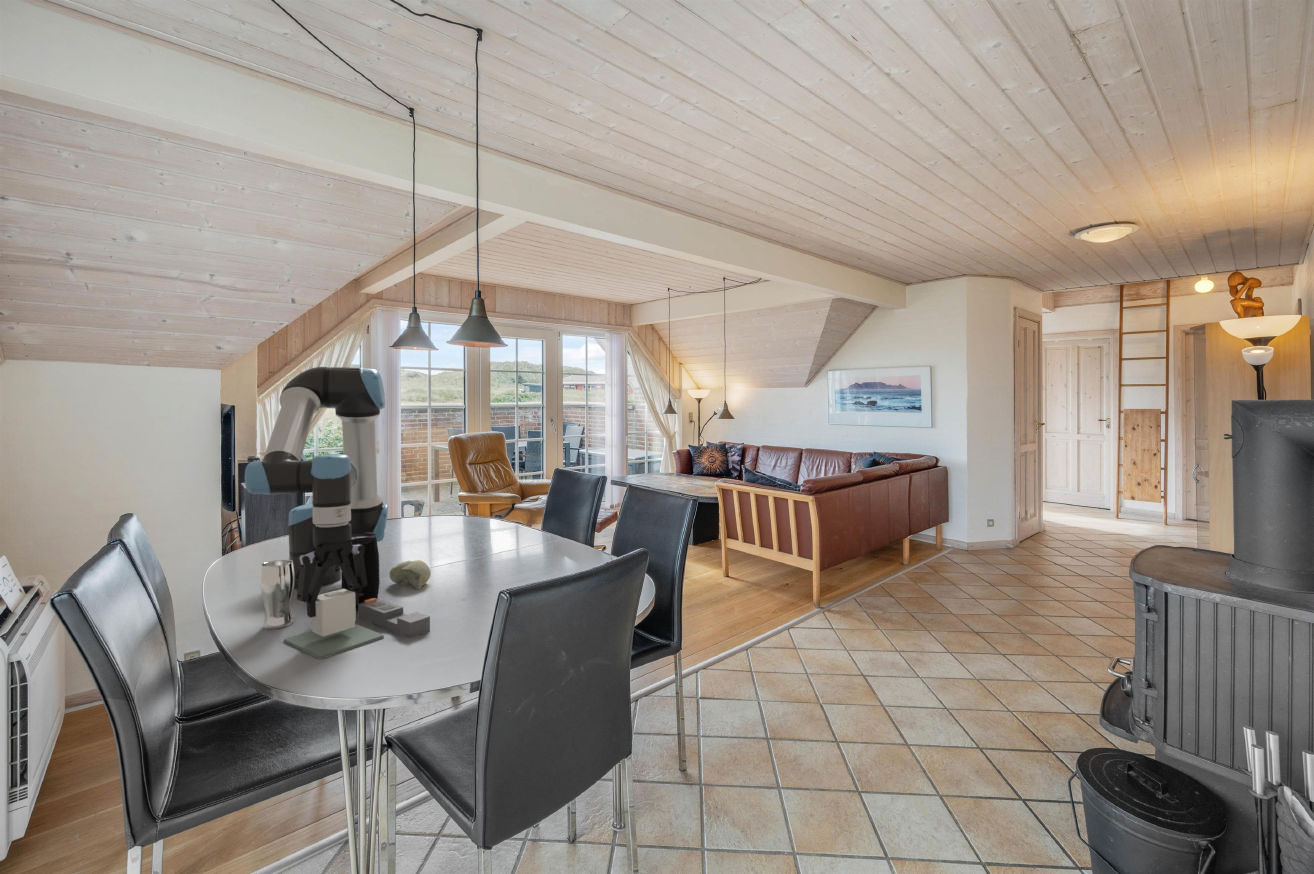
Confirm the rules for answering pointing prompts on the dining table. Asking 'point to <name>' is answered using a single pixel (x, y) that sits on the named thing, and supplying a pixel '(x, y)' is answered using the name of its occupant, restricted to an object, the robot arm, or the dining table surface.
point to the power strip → (393, 617)
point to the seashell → (411, 573)
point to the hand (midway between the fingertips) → (333, 624)
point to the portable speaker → (366, 566)
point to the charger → (336, 611)
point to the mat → (333, 641)
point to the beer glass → (277, 592)
